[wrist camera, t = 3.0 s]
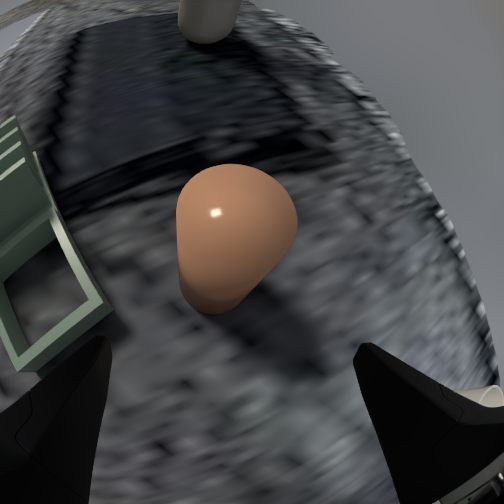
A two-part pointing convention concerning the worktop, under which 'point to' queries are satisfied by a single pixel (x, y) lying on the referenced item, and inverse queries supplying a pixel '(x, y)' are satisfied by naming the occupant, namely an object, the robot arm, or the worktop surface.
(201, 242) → the orange rounded blob
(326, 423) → the worktop surface
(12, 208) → the dish rack
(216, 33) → the glass bottle
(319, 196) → the worktop surface
